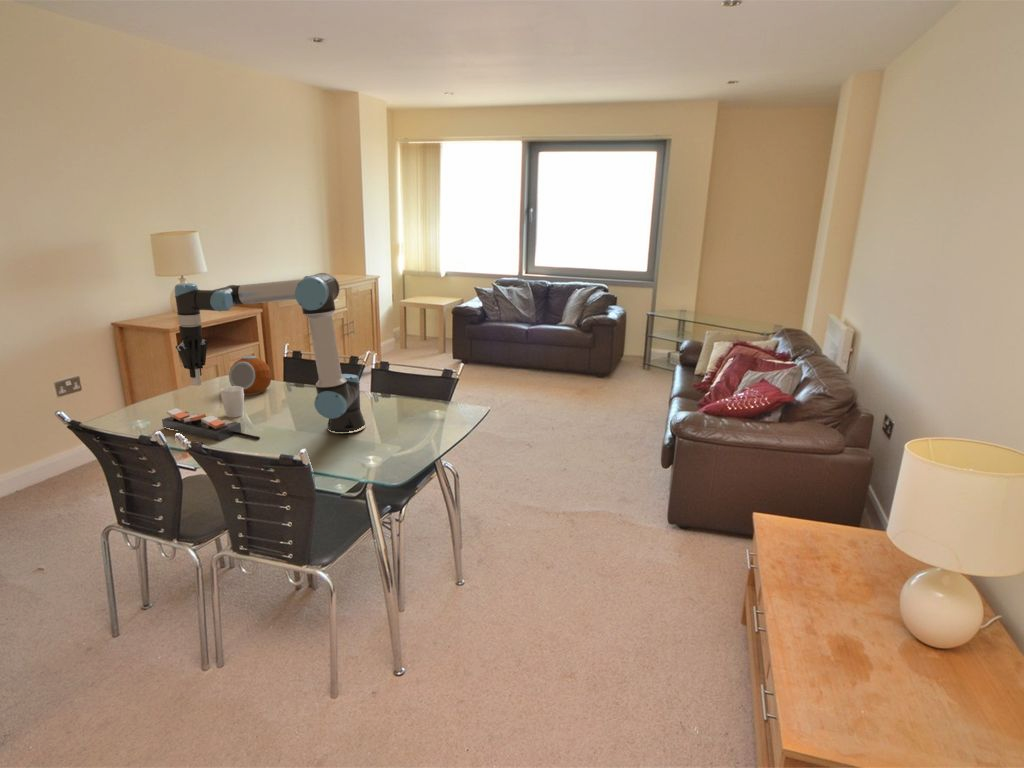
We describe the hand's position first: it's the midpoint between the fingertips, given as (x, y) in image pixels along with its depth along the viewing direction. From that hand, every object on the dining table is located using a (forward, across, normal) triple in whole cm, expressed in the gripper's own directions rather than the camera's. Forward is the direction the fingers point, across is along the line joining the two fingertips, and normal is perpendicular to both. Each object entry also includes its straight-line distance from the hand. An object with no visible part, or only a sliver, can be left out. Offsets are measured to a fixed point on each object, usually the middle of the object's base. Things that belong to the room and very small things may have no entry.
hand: (197, 384), depth 232 cm
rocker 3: (+15, 0, +6) cm, 16 cm away
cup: (+21, -22, -6) cm, 31 cm away
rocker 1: (+15, 0, -13) cm, 20 cm away
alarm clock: (+21, -52, -26) cm, 62 cm away
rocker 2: (+15, 0, -3) cm, 15 cm away
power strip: (+20, -3, +3) cm, 21 cm away
